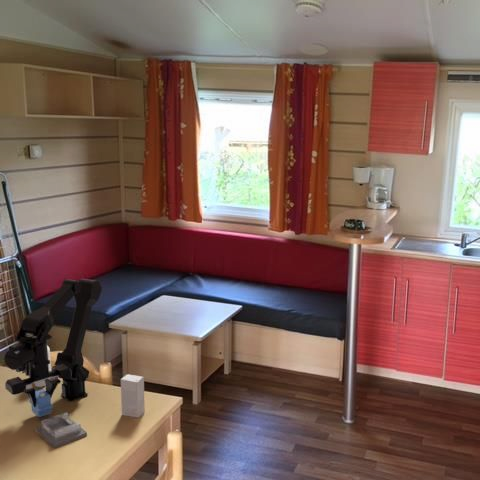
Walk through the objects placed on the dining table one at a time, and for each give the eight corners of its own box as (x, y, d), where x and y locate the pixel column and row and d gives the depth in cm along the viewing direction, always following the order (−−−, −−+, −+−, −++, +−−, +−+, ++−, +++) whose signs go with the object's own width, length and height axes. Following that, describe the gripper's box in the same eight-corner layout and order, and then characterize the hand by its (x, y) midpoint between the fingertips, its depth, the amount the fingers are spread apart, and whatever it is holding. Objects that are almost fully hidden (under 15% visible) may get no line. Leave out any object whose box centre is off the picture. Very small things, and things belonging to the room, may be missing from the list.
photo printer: (46, 387, 202) (44, 353, 199) (33, 387, 201) (30, 353, 199) (52, 374, 212) (50, 341, 209) (40, 374, 211) (38, 341, 209)
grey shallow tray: (67, 419, 181) (67, 409, 180) (87, 435, 172) (86, 424, 172) (36, 431, 174) (35, 420, 174) (54, 448, 166) (53, 436, 165)
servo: (42, 405, 187) (40, 385, 185) (53, 414, 181) (52, 394, 179) (29, 409, 184) (28, 389, 182) (40, 419, 178) (39, 399, 177)
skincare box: (145, 412, 186) (144, 376, 184) (138, 418, 182) (137, 382, 180) (128, 408, 188) (127, 373, 185) (121, 415, 184) (120, 379, 182)
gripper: (55, 341, 190) (57, 386, 194) (-4, 356, 178) (0, 404, 181) (71, 351, 182) (73, 398, 186) (11, 368, 170) (15, 418, 173)
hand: (41, 404), depth 182 cm, fingers closed on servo, 4 cm apart
